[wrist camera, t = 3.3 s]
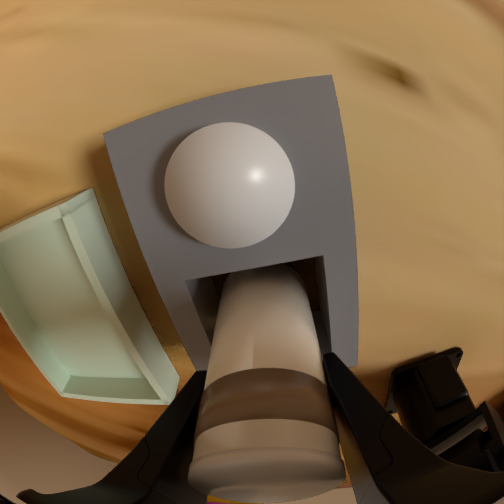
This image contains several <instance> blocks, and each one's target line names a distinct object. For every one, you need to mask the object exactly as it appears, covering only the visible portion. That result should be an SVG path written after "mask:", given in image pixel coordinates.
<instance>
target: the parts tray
mask: <svg viewBox="0 0 504 504" xmlns="http://www.w3.org/2000/svg"><path fill="white" fill-rule="evenodd" d="M0 312H1V314H2V316H3V318H4V319H5V321H6V322H7V324H8V326H9V327H10V329H11V330H12V332H13V333H14V335H15V336H16V338H17V339H18V341H19V342H20V344H21V345H22V347H23V348H24V350H25V351H26V352H27V354H28V355H29V357H30V358H31V359H32V361H33V362H34V363H35V365H36V366H37V367H38V369H39V370H40V371H41V372H42V374H43V375H44V376H45V377H46V379H47V380H48V381H49V382H50V383H51V385H52V386H53V387H54V388H55V389H56V391H57V392H58V393H59V394H60V395H61V396H62V397H69V398H76V399H84V400H93V401H102V402H114V403H129V404H154V405H170V403H171V402H172V401H173V400H174V398H175V395H176V391H177V387H178V383H179V379H180V377H179V375H178V373H177V372H176V370H175V368H174V367H173V365H172V363H171V361H170V360H169V358H168V356H167V354H166V353H165V351H164V349H163V347H162V345H161V344H160V342H159V340H158V338H157V336H156V334H155V332H154V331H153V329H152V327H151V325H150V323H149V321H148V319H147V317H146V315H145V313H144V311H143V309H142V307H141V305H140V303H139V301H138V299H137V297H136V294H135V292H134V290H133V288H132V286H131V284H130V282H129V279H128V277H127V275H126V273H125V270H124V268H123V266H122V263H121V261H120V259H119V256H118V254H117V252H116V249H115V247H114V244H113V242H112V239H111V237H110V234H109V232H108V229H107V226H106V224H105V221H104V218H103V216H102V213H101V210H100V207H99V205H98V202H97V199H96V196H95V193H94V190H93V187H92V188H89V189H87V190H84V191H82V192H79V193H77V194H74V195H72V196H69V197H67V198H64V199H62V200H60V201H57V202H55V203H53V204H51V205H48V206H46V207H44V208H42V209H39V210H37V211H35V212H33V213H31V214H29V215H27V216H25V217H23V218H21V219H18V220H16V221H14V222H12V223H11V224H9V225H7V226H5V227H3V228H1V229H0Z"/></svg>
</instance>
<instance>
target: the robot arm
mask: <svg viewBox="0 0 504 504" xmlns="http://www.w3.org/2000/svg"><path fill="white" fill-rule="evenodd" d="M462 355H463V351H462V349H461V348H456V349H453V350H451V351H448V352H446V353H443V354H440V355H437V356H434V357H432V358H429V359H426V360H423V361H420V362H417V363H414V364H410V365H407V366H404V367H401V368H398V369H396V370H394V371H393V372H392V375H391V381H390V385H389V390H388V395H387V399H386V404H385V408H384V407H383V405H382V404H381V403H380V402H379V401H378V400H377V399H376V398H375V397H374V396H373V394H372V393H371V392H370V391H369V390H368V389H367V388H366V387H365V386H364V385H363V384H362V382H361V381H360V380H359V379H358V378H357V377H356V376H355V375H354V374H353V373H352V371H351V370H350V369H349V368H348V367H347V366H346V365H345V364H344V363H343V361H342V360H341V359H340V358H339V357H338V356H337V355H336V354H335V353H334V352H329V353H324V354H323V355H322V360H323V366H324V371H325V376H326V381H327V386H328V389H329V391H330V393H331V397H332V402H333V407H334V412H335V417H336V422H337V428H338V433H339V439H340V445H341V449H342V452H343V455H344V459H345V462H346V466H347V469H348V473H349V476H350V480H351V483H352V487H353V490H354V494H355V497H356V501H357V504H504V423H503V421H502V420H501V418H500V416H499V414H498V412H497V411H496V409H494V408H493V407H492V406H491V405H490V404H489V403H488V402H486V401H484V402H483V403H481V404H480V405H479V407H478V408H477V409H476V408H475V406H474V404H473V402H472V400H471V398H470V396H469V394H468V390H467V388H466V386H465V385H464V383H463V381H462V379H461V377H460V375H459V374H458V372H457V368H458V365H459V363H460V360H461V357H462ZM206 375H207V370H200V371H196V372H195V373H194V374H193V376H192V377H191V378H190V379H189V381H188V382H187V383H186V384H185V386H184V387H183V388H182V390H181V391H180V392H179V393H178V395H177V396H176V397H175V398H174V400H173V401H172V402H171V403H170V405H169V406H168V407H167V408H166V410H165V411H164V412H163V413H162V415H161V416H160V417H159V418H158V420H157V421H156V422H155V423H154V425H153V426H152V427H151V428H150V430H149V431H148V432H147V433H146V434H145V437H143V438H142V439H141V440H140V442H139V443H138V444H137V445H136V446H135V447H134V449H133V450H132V451H131V452H130V453H129V454H128V455H127V456H126V457H125V458H124V459H123V460H122V461H121V462H120V463H119V464H118V465H117V466H116V467H115V468H114V469H113V470H112V471H111V472H109V473H108V474H107V475H106V476H105V477H104V478H103V479H102V480H100V481H99V482H97V483H96V484H93V485H91V486H87V487H84V488H79V489H75V490H70V491H65V492H60V493H55V494H41V493H38V492H36V491H34V490H32V489H28V490H24V491H21V492H19V493H18V494H17V495H16V497H17V498H19V499H20V500H22V501H23V502H25V503H27V504H207V496H208V495H207V494H204V493H202V492H200V491H198V490H196V489H194V488H193V487H192V486H191V485H190V484H189V483H188V473H189V467H190V464H191V463H192V460H193V454H194V445H193V442H194V436H195V430H196V424H197V418H198V412H199V406H200V400H201V396H202V394H203V392H204V386H205V381H206ZM397 412H398V415H399V418H400V421H401V424H402V426H401V425H400V424H399V423H398V422H397V421H396V420H395V418H394V417H393V416H392V415H391V414H393V413H397ZM487 426H488V430H487V431H485V432H483V431H482V430H483V429H484V428H485V427H487ZM0 504H16V503H14V502H12V501H11V500H9V499H8V498H6V497H4V496H3V495H1V494H0Z"/></svg>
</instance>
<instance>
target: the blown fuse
mask: <svg viewBox="0 0 504 504" xmlns="http://www.w3.org/2000/svg"><path fill="white" fill-rule="evenodd" d="M339 443H340V439H339V433H338V428H337V422H336V417H335V412H334V407H333V402H332V397H331V393H330V391H329V389H328V386H327V381H326V376H325V371H324V366H323V362H322V357H321V352H320V348H319V343H318V339H317V334H316V330H315V326H314V321H313V317H312V313H311V309H310V304H309V300H308V296H307V292H306V288H305V284H304V282H303V280H302V278H301V277H300V276H299V274H298V273H297V272H296V271H295V270H294V269H292V268H291V267H289V266H287V265H285V264H283V263H279V264H274V265H268V266H263V267H258V268H252V269H247V270H241V271H235V272H232V273H231V274H230V275H229V276H228V277H227V279H226V281H225V283H224V285H223V288H222V293H221V298H220V304H219V309H218V314H217V320H216V325H215V330H214V336H213V341H212V347H211V352H210V358H209V364H208V369H207V375H206V381H205V386H204V392H203V394H202V396H201V400H200V406H199V412H198V418H197V424H196V430H195V436H194V442H193V445H194V454H193V460H192V463H191V464H190V467H189V473H188V483H189V484H190V485H191V486H192V487H193V488H194V489H196V490H198V491H200V492H202V493H204V494H207V495H209V496H213V497H216V498H220V499H224V500H229V501H236V502H244V503H281V502H290V501H296V500H302V499H306V498H310V497H314V496H317V495H320V494H323V493H326V492H328V491H330V490H332V489H334V488H336V487H338V486H339V485H340V484H342V483H343V482H344V480H345V478H346V473H345V467H344V462H343V460H342V459H341V455H340V449H339Z"/></svg>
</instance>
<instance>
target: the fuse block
mask: <svg viewBox="0 0 504 504" xmlns="http://www.w3.org/2000/svg"><path fill="white" fill-rule="evenodd" d="M103 136H104V140H105V143H106V147H107V150H108V154H109V157H110V161H111V164H112V168H113V171H114V174H115V177H116V180H117V184H118V187H119V190H120V193H121V196H122V199H123V202H124V205H125V208H126V211H127V213H128V216H129V219H130V222H131V225H132V227H133V230H134V233H135V235H136V238H137V241H138V243H139V246H140V248H141V251H142V254H143V256H144V259H145V261H146V264H147V266H148V268H149V271H150V273H151V276H152V278H153V280H154V283H155V285H156V287H157V290H158V292H159V294H160V297H161V299H162V301H163V303H164V305H165V308H166V310H167V312H168V314H169V316H170V318H171V321H172V323H173V325H174V327H175V329H176V331H177V333H178V335H179V337H180V339H181V341H182V343H183V345H184V347H185V349H186V351H187V353H188V355H189V357H190V359H191V361H192V363H193V365H194V367H195V369H196V371H200V370H207V369H208V364H209V358H210V352H211V347H212V341H213V336H214V330H215V325H216V320H217V314H218V309H219V304H220V302H219V299H218V296H217V293H216V290H215V287H214V284H213V281H212V278H211V276H213V275H219V274H224V273H230V272H235V271H241V270H247V269H252V268H258V267H263V266H268V265H274V264H279V263H285V262H290V261H295V260H301V259H306V258H311V257H314V261H315V268H316V276H317V284H318V293H319V302H320V311H315V312H311V313H312V317H313V321H314V326H315V330H316V334H317V339H318V343H319V348H320V352H321V357H322V355H323V354H324V353H329V352H334V353H335V354H336V355H337V356H338V357H339V358H340V359H341V360H342V361H343V363H344V364H345V365H346V366H347V367H353V366H357V364H358V324H359V310H358V269H357V250H356V235H355V222H354V211H353V201H352V192H351V183H350V175H349V167H348V160H347V153H346V147H345V140H344V134H343V128H342V123H341V117H340V112H339V107H338V102H337V97H336V92H335V87H334V83H333V78H332V75H324V76H315V77H307V78H299V79H292V80H286V81H279V82H274V83H268V84H263V85H257V86H252V87H248V88H243V89H238V90H234V91H230V92H226V93H221V94H217V95H214V96H210V97H206V98H202V99H199V100H195V101H192V102H188V103H185V104H182V105H179V106H175V107H172V108H169V109H166V110H163V111H160V112H157V113H154V114H152V115H149V116H146V117H143V118H141V119H138V120H135V121H133V122H130V123H128V124H125V125H123V126H120V127H118V128H115V129H113V130H110V131H108V132H106V133H103ZM322 362H323V360H322Z"/></svg>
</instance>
